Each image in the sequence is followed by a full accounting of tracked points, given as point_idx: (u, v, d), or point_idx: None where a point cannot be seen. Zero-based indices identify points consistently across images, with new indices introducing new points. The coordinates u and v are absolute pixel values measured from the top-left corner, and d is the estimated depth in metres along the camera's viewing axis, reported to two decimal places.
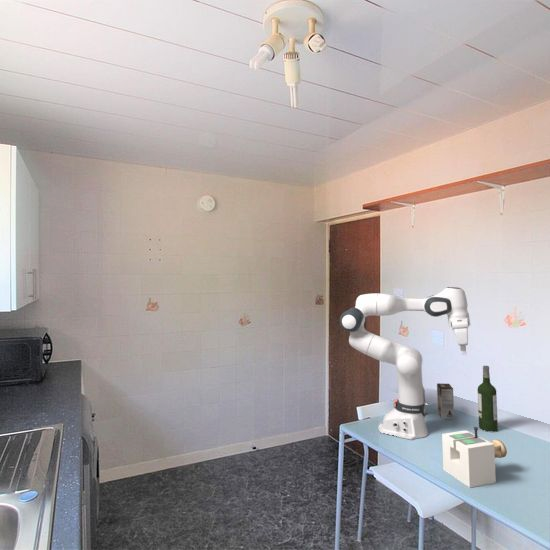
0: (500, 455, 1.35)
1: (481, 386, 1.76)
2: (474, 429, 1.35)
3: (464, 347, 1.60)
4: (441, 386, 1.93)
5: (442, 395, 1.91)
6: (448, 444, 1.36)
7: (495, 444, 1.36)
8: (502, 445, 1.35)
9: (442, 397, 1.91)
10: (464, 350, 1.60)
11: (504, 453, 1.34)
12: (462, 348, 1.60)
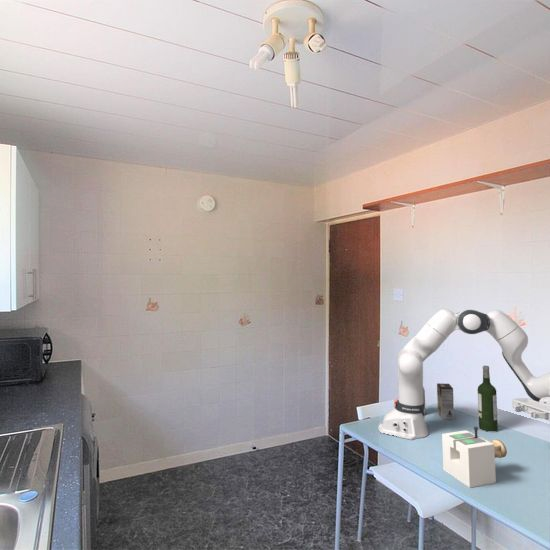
0: (500, 455, 1.35)
1: (481, 386, 1.76)
2: (474, 429, 1.35)
3: (544, 417, 1.37)
4: (441, 386, 1.93)
5: (442, 395, 1.91)
6: (448, 444, 1.36)
7: (495, 444, 1.36)
8: (502, 445, 1.35)
9: (442, 397, 1.91)
10: (539, 416, 1.37)
11: (504, 453, 1.34)
12: (542, 414, 1.37)
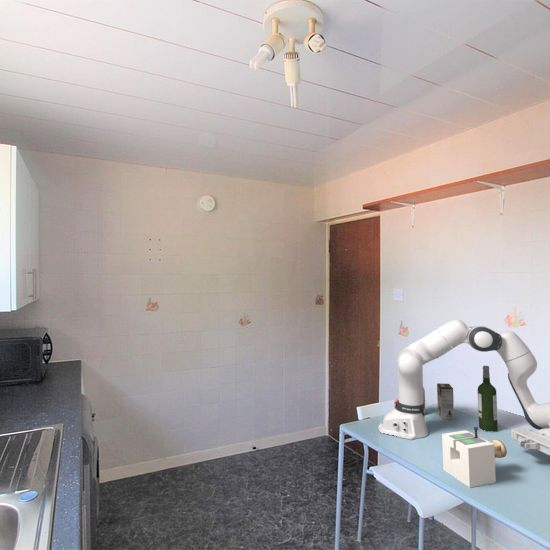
0: (500, 455, 1.35)
1: (481, 386, 1.76)
2: (474, 429, 1.35)
3: (535, 447, 1.39)
4: (441, 386, 1.93)
5: (442, 395, 1.91)
6: (448, 444, 1.36)
7: (495, 444, 1.36)
8: (502, 445, 1.35)
9: (442, 397, 1.91)
10: (530, 447, 1.39)
11: (504, 453, 1.34)
12: (533, 444, 1.39)
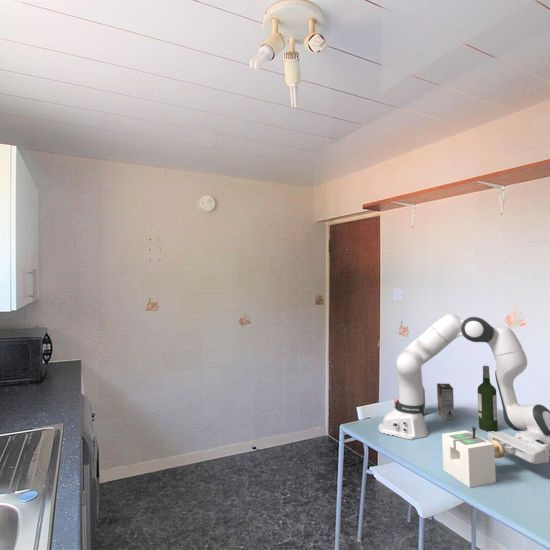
0: (498, 455, 1.35)
1: (481, 386, 1.76)
2: (472, 429, 1.35)
3: (510, 451, 1.36)
4: (441, 386, 1.93)
5: (442, 395, 1.91)
6: (448, 444, 1.36)
7: None
8: (500, 445, 1.35)
9: (442, 397, 1.91)
10: (505, 451, 1.36)
11: (502, 454, 1.34)
12: (508, 448, 1.36)
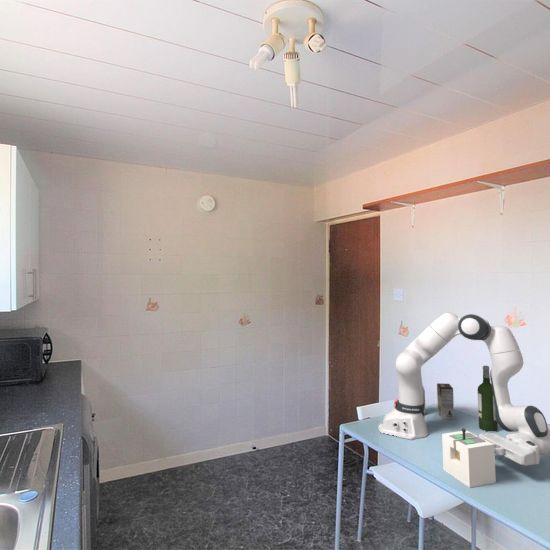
0: None
1: (481, 386, 1.76)
2: (462, 431, 1.34)
3: (500, 453, 1.35)
4: (441, 386, 1.93)
5: (442, 395, 1.91)
6: (448, 444, 1.36)
7: None
8: None
9: (442, 397, 1.91)
10: (496, 452, 1.35)
11: None
12: (499, 450, 1.35)
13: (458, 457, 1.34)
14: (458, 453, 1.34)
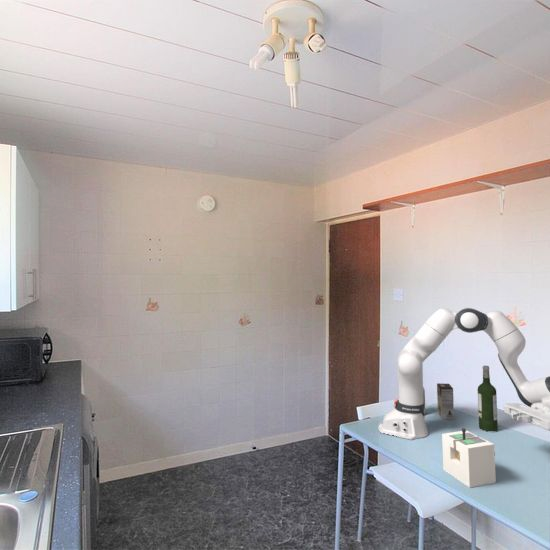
0: None
1: (481, 386, 1.76)
2: (462, 431, 1.34)
3: (527, 420, 1.38)
4: (441, 386, 1.93)
5: (442, 395, 1.91)
6: (448, 444, 1.36)
7: None
8: None
9: (442, 397, 1.91)
10: (522, 419, 1.39)
11: None
12: (525, 417, 1.39)
13: (458, 457, 1.34)
14: (458, 453, 1.34)
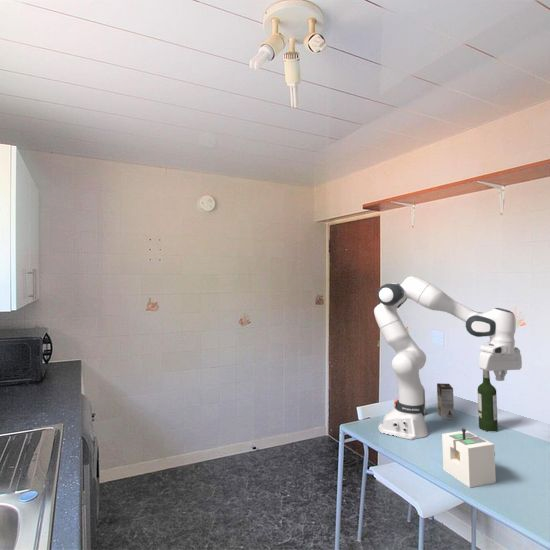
0: None
1: (481, 386, 1.76)
2: (462, 431, 1.34)
3: (497, 373, 1.52)
4: (441, 386, 1.93)
5: (442, 395, 1.91)
6: (448, 444, 1.36)
7: None
8: None
9: (442, 397, 1.91)
10: (497, 376, 1.52)
11: None
12: (495, 373, 1.53)
13: (458, 457, 1.34)
14: (458, 453, 1.34)
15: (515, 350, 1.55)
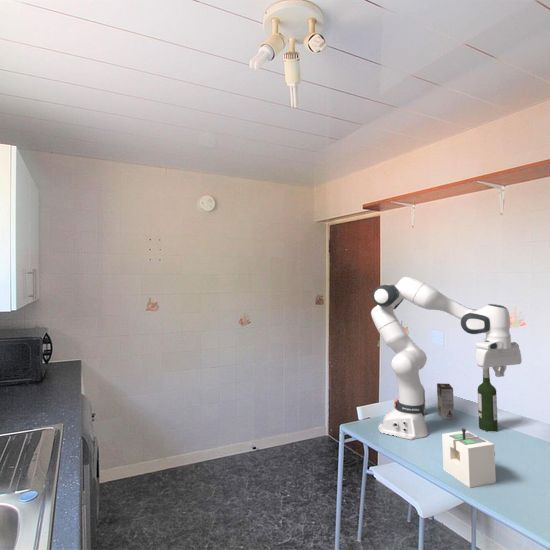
0: None
1: (481, 386, 1.76)
2: (462, 431, 1.34)
3: (495, 369, 1.52)
4: (441, 386, 1.93)
5: (442, 395, 1.91)
6: (448, 444, 1.36)
7: None
8: None
9: (442, 397, 1.91)
10: (497, 372, 1.52)
11: None
12: (494, 369, 1.53)
13: (458, 457, 1.34)
14: (458, 453, 1.34)
15: (513, 345, 1.55)
